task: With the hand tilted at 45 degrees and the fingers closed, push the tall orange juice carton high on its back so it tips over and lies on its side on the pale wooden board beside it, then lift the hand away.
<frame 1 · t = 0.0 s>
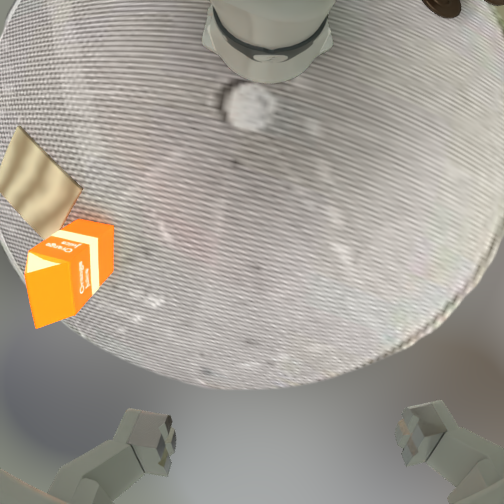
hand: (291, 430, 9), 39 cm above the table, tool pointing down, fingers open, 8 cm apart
orange juice: (95, 244, 49), on the table
board: (33, 185, 44), on the table
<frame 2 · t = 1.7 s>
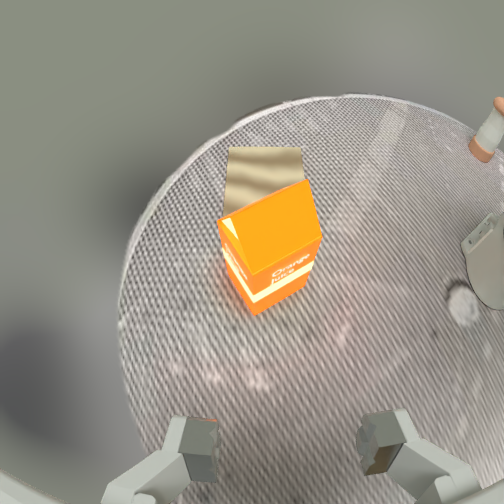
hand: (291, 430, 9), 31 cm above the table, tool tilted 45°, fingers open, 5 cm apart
orange juice: (266, 280, 45), on the table
pepper shaker: (478, 153, 60), on the table
board: (265, 187, 53), on the table
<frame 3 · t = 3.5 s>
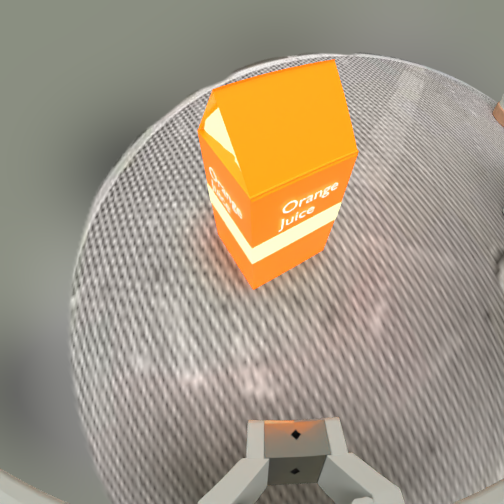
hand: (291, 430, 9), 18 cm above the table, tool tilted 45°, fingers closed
orange juice: (270, 242, 33), on the table
pepper shaker: (503, 122, 48), on the table
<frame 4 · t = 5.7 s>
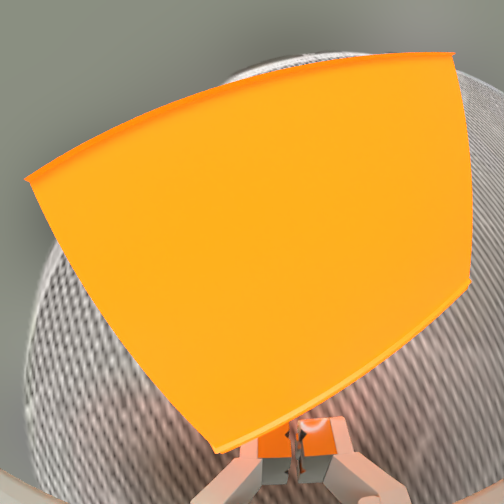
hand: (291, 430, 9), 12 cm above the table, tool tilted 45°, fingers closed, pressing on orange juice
orange juice: (279, 354, 21), on the table, touching gripper
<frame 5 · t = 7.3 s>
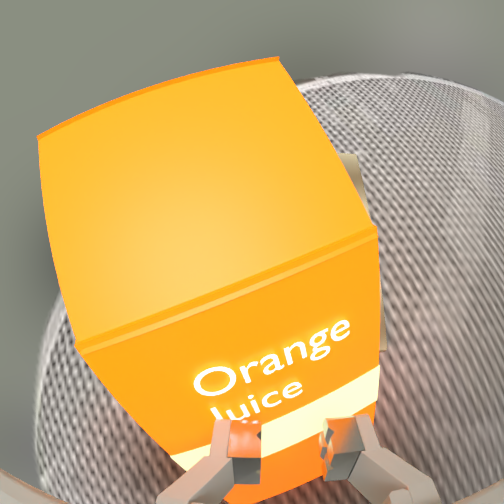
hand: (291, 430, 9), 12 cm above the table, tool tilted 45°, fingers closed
orange juice: (282, 440, 17), point 2 cm above the table, touching gripper
board: (294, 238, 26), on the table
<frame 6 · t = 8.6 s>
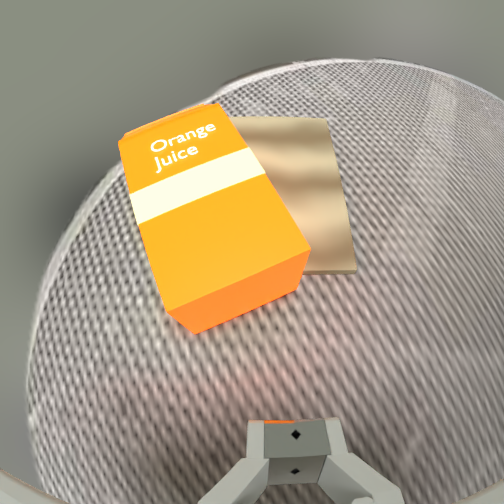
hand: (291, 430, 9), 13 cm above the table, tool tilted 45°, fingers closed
orange juice: (245, 302, 20), point 4 cm above the table, touching board
board: (270, 182, 30), on the table
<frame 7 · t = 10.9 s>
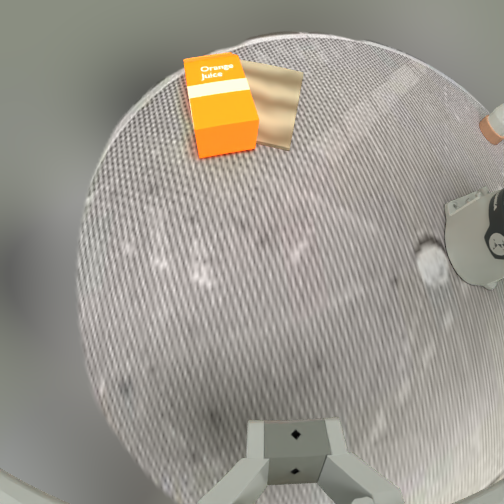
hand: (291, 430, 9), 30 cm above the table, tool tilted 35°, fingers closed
orange juice: (227, 140, 41), point 4 cm above the table, touching board
pepper shaker: (488, 133, 55), on the table
board: (258, 99, 49), on the table
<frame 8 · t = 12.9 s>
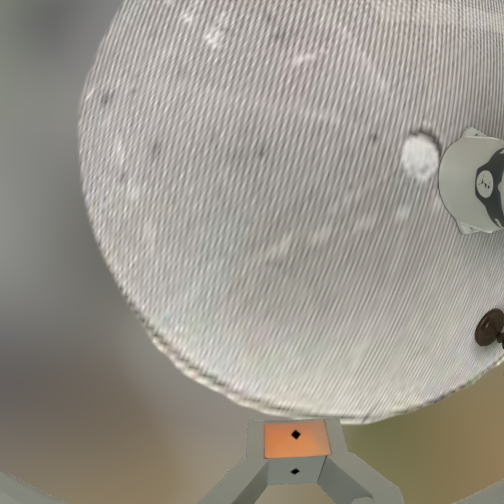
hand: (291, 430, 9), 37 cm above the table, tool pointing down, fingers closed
candlestick: (488, 326, 50), on the table
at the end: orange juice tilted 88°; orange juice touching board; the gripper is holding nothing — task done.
